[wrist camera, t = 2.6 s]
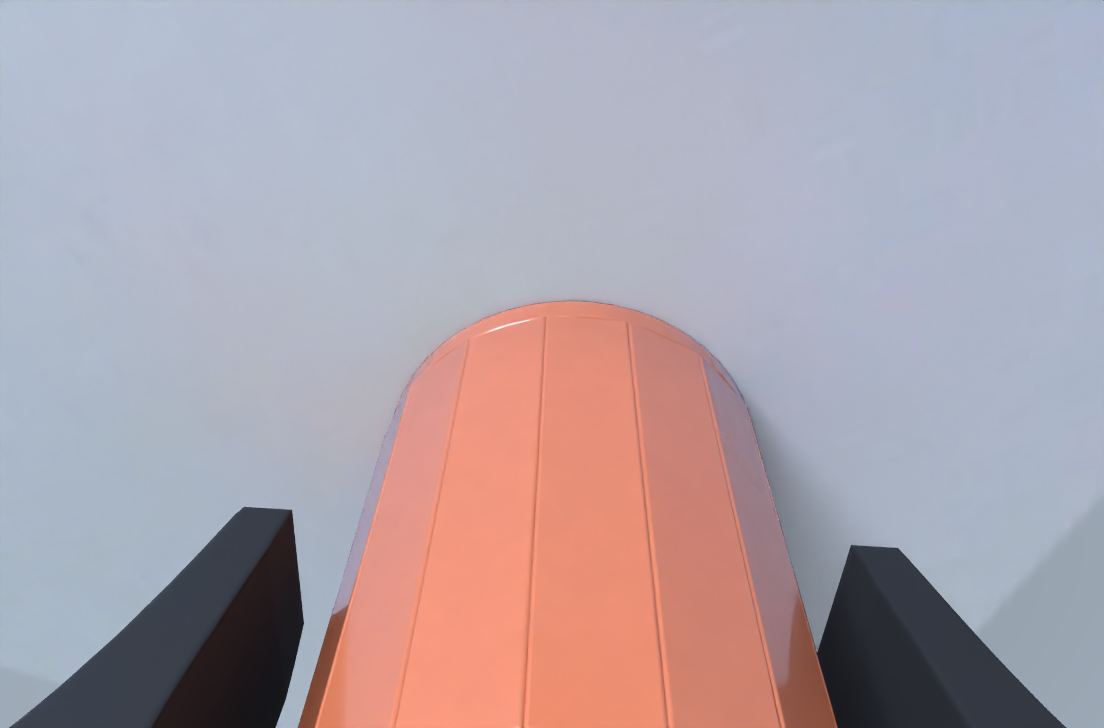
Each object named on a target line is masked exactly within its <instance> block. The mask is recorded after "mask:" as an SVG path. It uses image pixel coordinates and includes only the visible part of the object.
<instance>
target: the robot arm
mask: <svg viewBox="0 0 1104 728" xmlns="http://www.w3.org/2000/svg"><path fill="white" fill-rule="evenodd" d="M303 625H304V620H303V610H302V601H301V591H300V582H299V572H298V563H297V553H296V544H295V534H294V525H293V515H292V510H284V509H268V508H252V507H244V508H242V509H241V510H240V511H239V512H237V513H236V514H235V515H234V516H233V517H232V519H231V520H230V521H229V522H228V523H227V524H226V525H225V526H224V527H223V528H222V529H221V530H220V531H219V532H218V533H217V535H216V536H215V537H214V538H213V539H212V540H211V541H210V542H209V543H208V544H207V545H206V546H205V547H204V548H203V549H202V551H201V552H200V553H199V554H198V555H197V556H196V557H195V558H194V559H193V560H192V561H191V562H190V563H189V564H188V565H187V566H186V567H185V568H184V569H183V570H182V571H181V572H180V573H179V575H178V576H177V577H176V578H175V579H174V580H173V581H172V582H171V583H170V584H169V585H168V586H167V587H166V588H165V589H164V590H163V591H162V592H161V593H160V594H159V595H158V596H157V597H156V598H155V599H154V600H153V601H152V602H151V603H150V604H149V605H147V606H146V607H145V608H144V609H143V610H142V611H141V612H140V613H139V614H138V615H137V616H136V617H135V618H134V619H133V620H132V621H131V622H130V623H129V624H128V625H127V626H126V627H125V628H124V629H123V630H122V631H121V632H120V633H119V634H118V635H117V636H116V637H114V638H113V639H112V640H111V641H110V642H109V643H108V644H107V645H106V646H104V647H103V648H102V649H101V650H100V651H99V652H98V653H97V654H96V655H94V656H93V657H92V658H91V659H90V660H89V661H88V662H87V663H86V664H84V665H83V666H82V667H81V668H80V669H79V670H78V671H77V672H75V673H74V674H73V675H72V676H71V677H70V678H69V679H68V680H67V681H65V682H64V683H63V684H62V685H61V686H60V687H59V688H57V689H56V690H55V691H54V692H53V693H51V694H50V695H49V696H48V697H47V698H45V699H44V700H43V701H42V702H41V703H40V704H38V705H37V706H36V707H35V708H33V709H32V710H31V711H30V712H28V713H27V714H26V715H25V716H24V717H22V718H21V719H20V720H19V721H18V722H16V723H15V724H13V725H12V726H11V727H10V728H276V725H277V722H278V719H279V717H280V714H281V711H282V708H283V705H284V702H285V700H286V696H287V692H288V688H289V684H290V680H291V676H292V672H293V668H294V664H295V660H296V655H297V651H298V647H299V642H300V638H301V634H302V629H303ZM817 655H818V658H819V662H820V665H821V669H822V672H823V676H824V679H825V683H826V686H827V690H828V693H829V697H830V700H831V704H832V708H833V711H834V715H835V718H836V722H837V725H838V728H1066V727H1065V726H1064V725H1063V724H1062V723H1061V722H1060V721H1059V720H1057V718H1056V717H1054V716H1053V715H1052V714H1051V713H1050V712H1049V711H1048V710H1047V709H1046V708H1045V707H1044V706H1043V705H1042V704H1041V703H1040V702H1039V701H1038V700H1037V699H1036V698H1035V697H1034V696H1033V695H1032V694H1031V693H1030V691H1028V689H1027V688H1026V687H1024V685H1023V684H1022V683H1021V682H1020V681H1019V680H1018V679H1017V678H1016V677H1015V676H1014V675H1013V674H1012V673H1011V672H1010V671H1009V670H1008V669H1007V668H1006V667H1005V665H1004V664H1003V663H1001V661H1000V660H999V659H998V658H997V657H996V656H995V655H994V654H993V653H992V652H991V651H990V650H989V648H988V647H987V646H986V645H985V644H984V643H983V642H982V641H981V640H980V639H979V637H978V636H977V635H976V634H975V633H974V632H973V631H972V630H971V629H970V628H969V626H968V625H967V624H966V623H965V622H964V621H963V620H962V619H961V618H960V616H959V615H958V614H957V613H956V612H955V611H954V610H953V609H952V608H951V606H950V605H949V604H948V603H947V602H946V601H945V600H944V599H943V597H942V596H941V595H940V594H939V593H938V592H937V591H936V590H935V588H934V587H933V586H932V585H931V584H930V583H929V582H928V581H927V579H926V578H925V577H924V576H923V575H922V574H921V573H920V572H919V570H918V569H917V568H916V567H915V566H914V565H913V564H912V563H911V562H910V560H909V559H908V558H907V557H906V556H905V555H904V554H903V553H902V552H901V551H900V550H899V549H898V548H887V547H871V546H855V545H851V548H850V551H849V554H848V557H847V560H846V563H845V567H844V570H843V573H842V576H841V579H840V582H839V586H838V589H837V592H836V595H835V598H834V601H833V605H832V608H831V611H830V614H829V617H828V620H827V624H826V627H825V630H824V633H823V636H822V640H821V643H820V646H819V649H818V652H817Z"/></svg>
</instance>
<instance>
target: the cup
mask: <svg viewBox="0 0 1104 728" xmlns="http://www.w3.org/2000/svg"><path fill="white" fill-rule="evenodd" d="M298 728H838V725H837V722H836V718H835V715H834V711H833V708H832V704H831V700H830V697H829V693H828V690H827V686H826V683H825V679H824V676H823V672H822V669H821V665H820V662H819V658H818V655H817V651H816V648H815V644H814V640H813V637H812V633H811V630H810V626H809V623H808V619H807V616H806V612H805V609H804V605H803V602H802V598H801V595H800V591H799V588H798V584H797V581H796V577H795V573H794V570H793V566H792V563H791V559H790V556H789V552H788V549H787V545H786V542H785V538H784V535H783V531H782V528H781V524H780V521H779V517H778V513H777V510H776V506H775V503H774V499H773V496H772V492H771V489H770V485H769V482H768V478H767V475H766V471H765V468H764V464H763V461H762V457H761V454H760V450H759V446H758V443H757V439H756V436H755V432H754V429H753V425H752V422H751V418H750V415H749V411H748V408H747V407H746V405H745V402H744V399H743V397H742V395H741V393H740V391H739V390H738V388H737V386H736V384H735V382H734V381H733V379H732V378H731V376H730V375H729V374H728V372H727V371H726V370H725V369H724V367H723V366H722V365H721V364H720V362H719V361H718V360H717V359H716V358H715V357H714V356H713V355H712V354H711V353H709V352H708V351H707V350H706V349H705V348H704V347H703V346H702V345H701V344H699V343H698V342H696V341H695V340H694V339H692V338H691V337H689V336H688V335H687V334H685V333H684V332H682V331H680V330H679V329H677V328H675V327H673V326H671V325H669V324H667V323H666V322H664V321H662V320H660V319H657V318H654V317H652V316H649V315H647V314H644V313H641V312H639V311H636V310H632V309H628V308H624V307H620V306H616V305H611V304H603V303H596V302H588V301H556V302H547V303H537V304H531V305H527V306H523V307H518V308H514V309H509V310H507V311H504V312H501V313H498V314H495V315H493V316H490V317H487V318H485V319H483V320H481V321H479V322H477V323H475V324H473V325H471V326H469V327H467V328H465V329H463V330H462V331H460V332H459V333H457V334H456V335H454V336H453V337H451V338H450V339H449V340H447V341H446V342H444V343H443V344H442V345H441V346H440V347H438V348H437V349H436V350H435V351H434V352H433V353H432V354H431V355H430V356H429V357H427V358H426V360H425V361H424V362H423V363H422V365H421V366H420V367H419V368H418V369H417V371H416V372H415V373H414V374H413V376H412V377H411V379H410V381H409V382H408V384H407V386H406V387H405V389H404V391H403V393H402V395H401V397H400V400H399V402H398V405H397V407H396V410H395V413H394V416H393V420H392V422H391V425H390V427H389V429H388V431H387V433H386V435H385V437H384V440H383V443H382V446H381V450H380V453H379V457H378V460H377V463H376V467H375V470H374V473H373V477H372V480H371V483H370V487H369V490H368V494H367V497H366V500H365V504H364V507H363V510H362V514H361V517H360V520H359V524H358V527H357V531H356V534H355V537H354V541H353V544H352V547H351V551H350V554H349V558H348V561H347V564H346V568H345V571H344V574H343V578H342V581H341V584H340V588H339V591H338V595H337V598H336V601H335V605H334V608H333V611H332V615H331V618H330V622H329V625H328V628H327V632H326V635H325V638H324V642H323V645H322V648H321V652H320V655H319V659H318V662H317V665H316V669H315V672H314V675H313V679H312V682H311V685H310V689H309V692H308V696H307V699H306V702H305V706H304V709H303V712H302V716H301V719H300V723H299V726H298Z"/></svg>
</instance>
